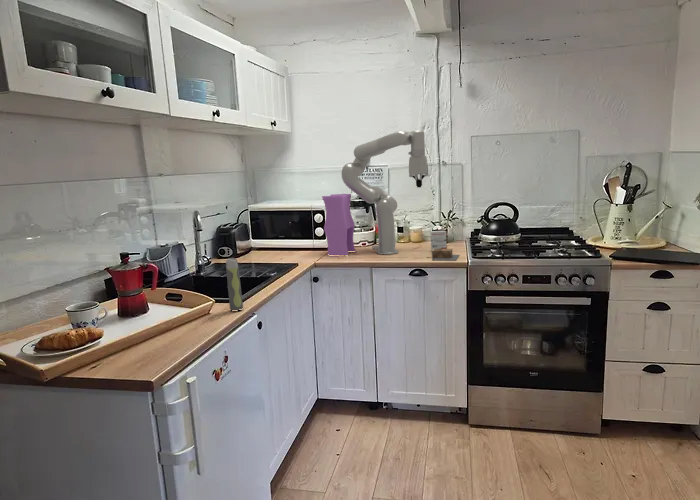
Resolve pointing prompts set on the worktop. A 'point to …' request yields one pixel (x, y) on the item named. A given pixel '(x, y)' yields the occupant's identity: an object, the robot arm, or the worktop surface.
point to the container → (339, 224)
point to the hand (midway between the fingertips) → (419, 187)
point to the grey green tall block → (234, 284)
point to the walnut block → (442, 253)
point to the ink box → (438, 240)
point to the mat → (447, 258)
